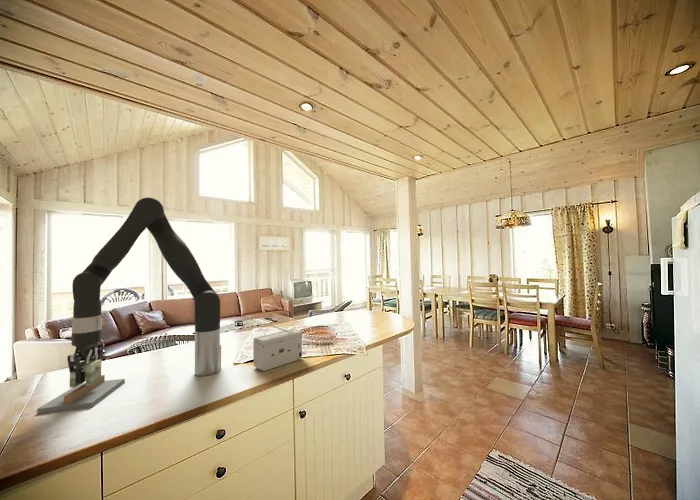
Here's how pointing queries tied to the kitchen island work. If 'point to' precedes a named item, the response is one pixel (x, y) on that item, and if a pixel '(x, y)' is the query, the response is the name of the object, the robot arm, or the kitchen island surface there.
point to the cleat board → (82, 396)
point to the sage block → (88, 373)
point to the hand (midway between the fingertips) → (86, 379)
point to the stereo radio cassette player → (277, 348)
